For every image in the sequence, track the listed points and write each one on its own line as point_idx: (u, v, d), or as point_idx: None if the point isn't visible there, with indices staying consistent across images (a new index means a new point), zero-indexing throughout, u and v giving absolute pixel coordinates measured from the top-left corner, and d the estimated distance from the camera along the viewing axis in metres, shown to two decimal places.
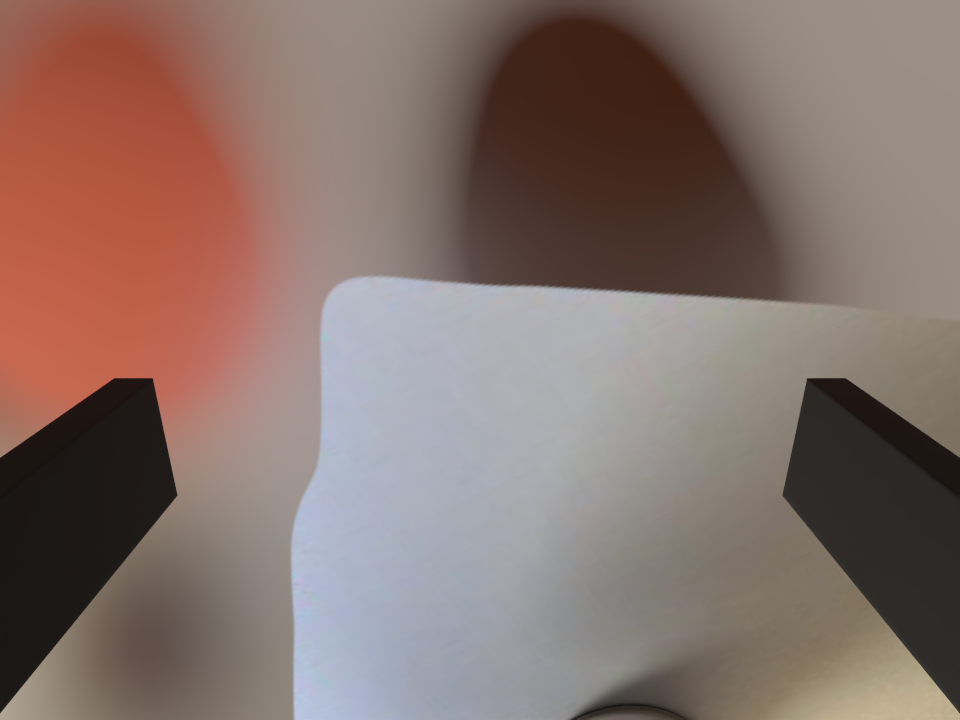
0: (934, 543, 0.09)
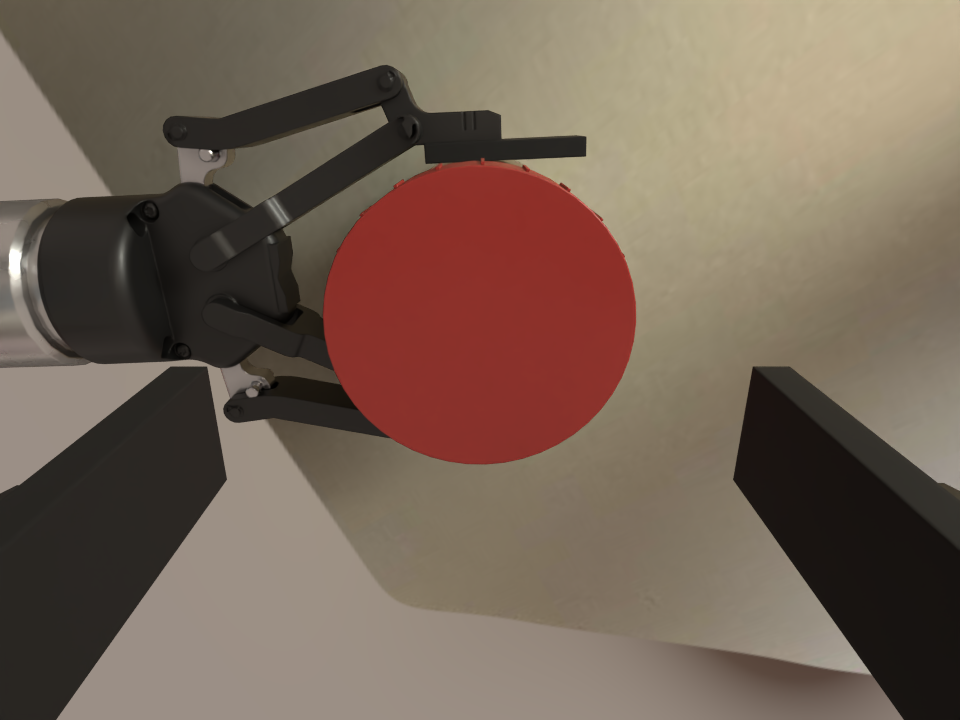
0: (852, 517, 0.09)
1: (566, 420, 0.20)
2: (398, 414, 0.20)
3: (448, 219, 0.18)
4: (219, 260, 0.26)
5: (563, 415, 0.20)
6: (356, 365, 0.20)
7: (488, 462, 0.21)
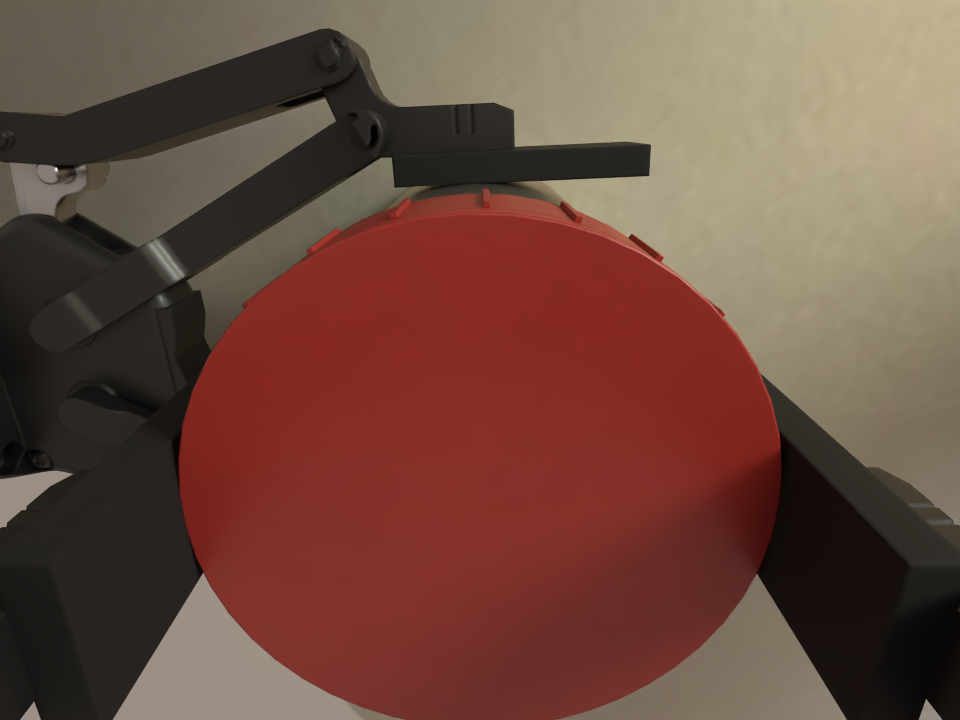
0: (787, 499, 0.10)
1: (637, 663, 0.11)
2: (332, 654, 0.11)
3: (416, 319, 0.09)
4: (76, 336, 0.16)
5: (632, 655, 0.11)
6: (248, 576, 0.10)
7: None
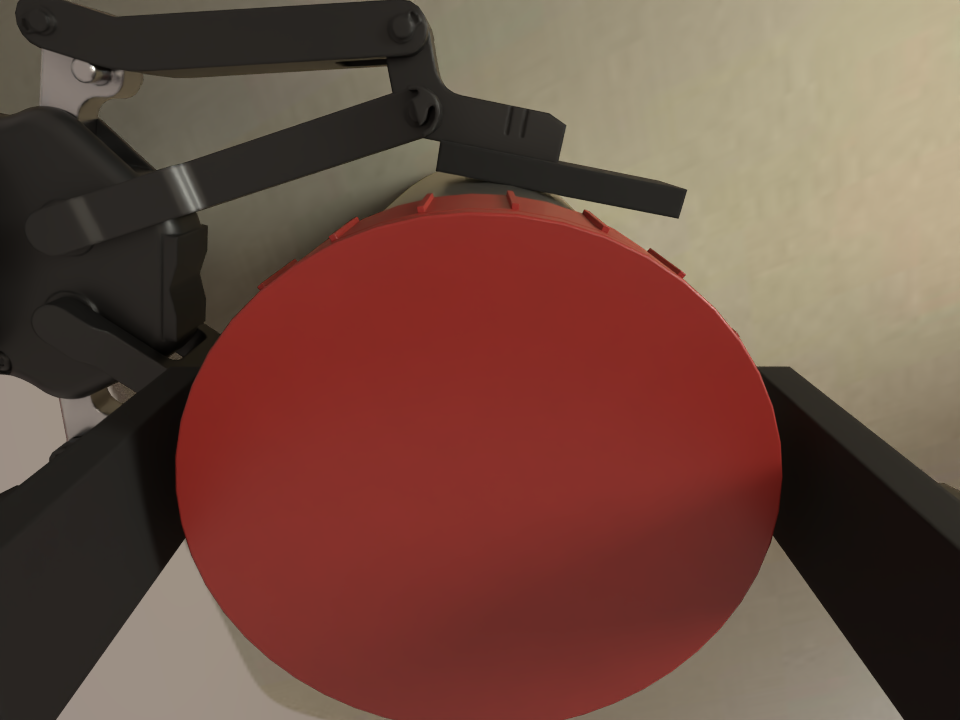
0: (852, 517, 0.09)
1: (700, 356, 0.09)
2: (641, 646, 0.11)
3: (277, 560, 0.10)
4: (73, 243, 0.16)
5: (687, 362, 0.09)
6: (540, 696, 0.11)
7: (775, 507, 0.10)
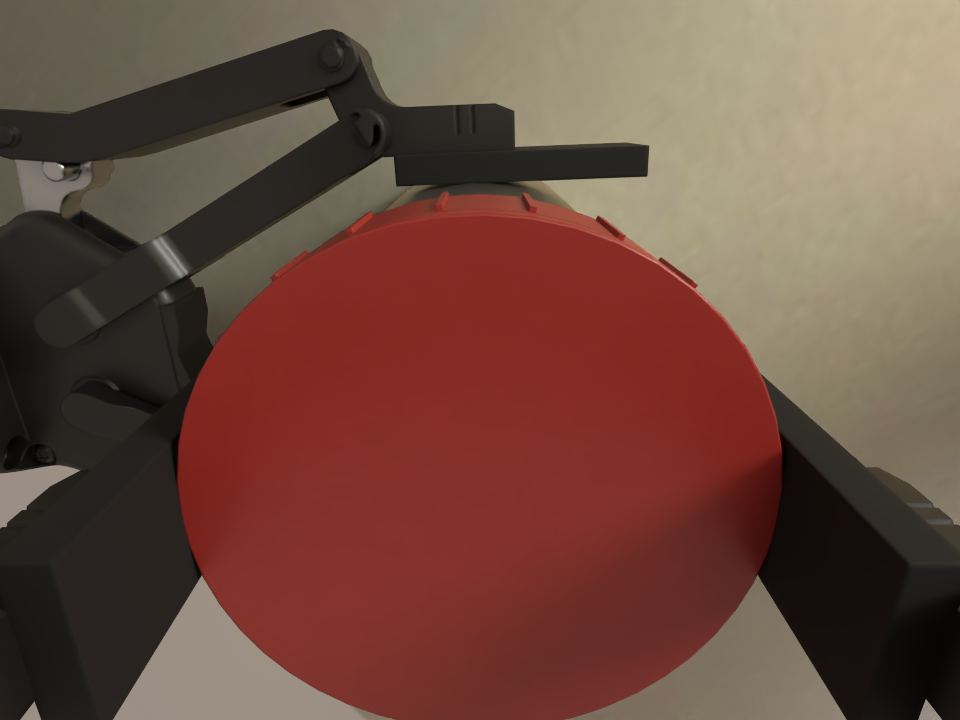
0: (787, 499, 0.10)
1: (657, 313, 0.09)
2: (676, 615, 0.11)
3: (299, 594, 0.11)
4: (80, 331, 0.17)
5: (645, 323, 0.09)
6: (587, 682, 0.11)
7: (777, 449, 0.10)
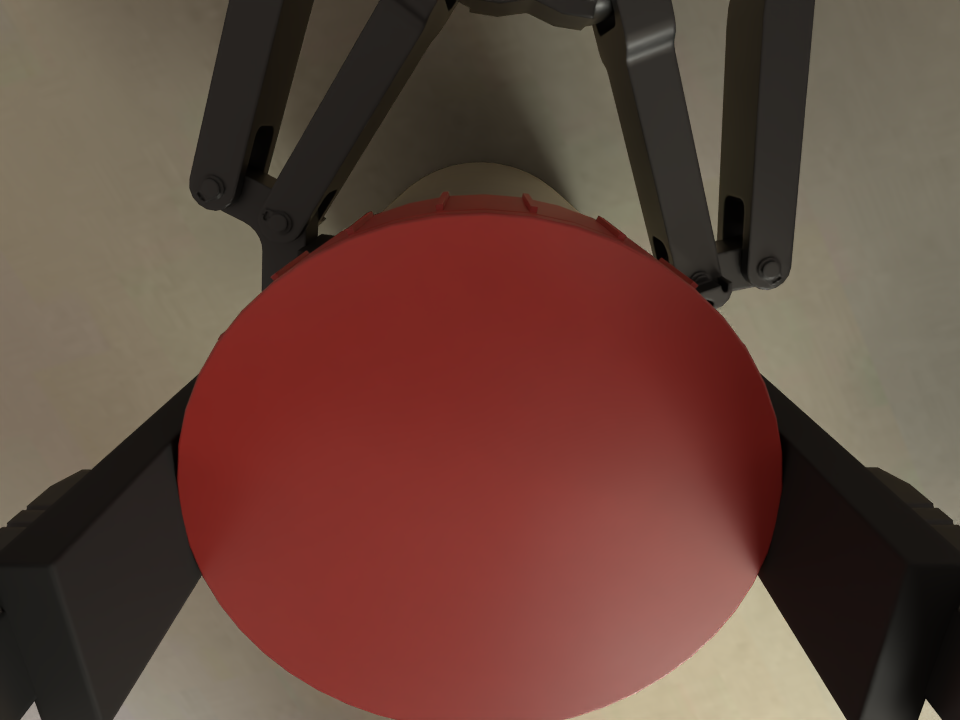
0: (787, 499, 0.10)
1: (658, 314, 0.09)
2: (676, 615, 0.11)
3: (299, 594, 0.11)
4: None
5: (646, 323, 0.09)
6: (587, 681, 0.11)
7: (777, 450, 0.10)
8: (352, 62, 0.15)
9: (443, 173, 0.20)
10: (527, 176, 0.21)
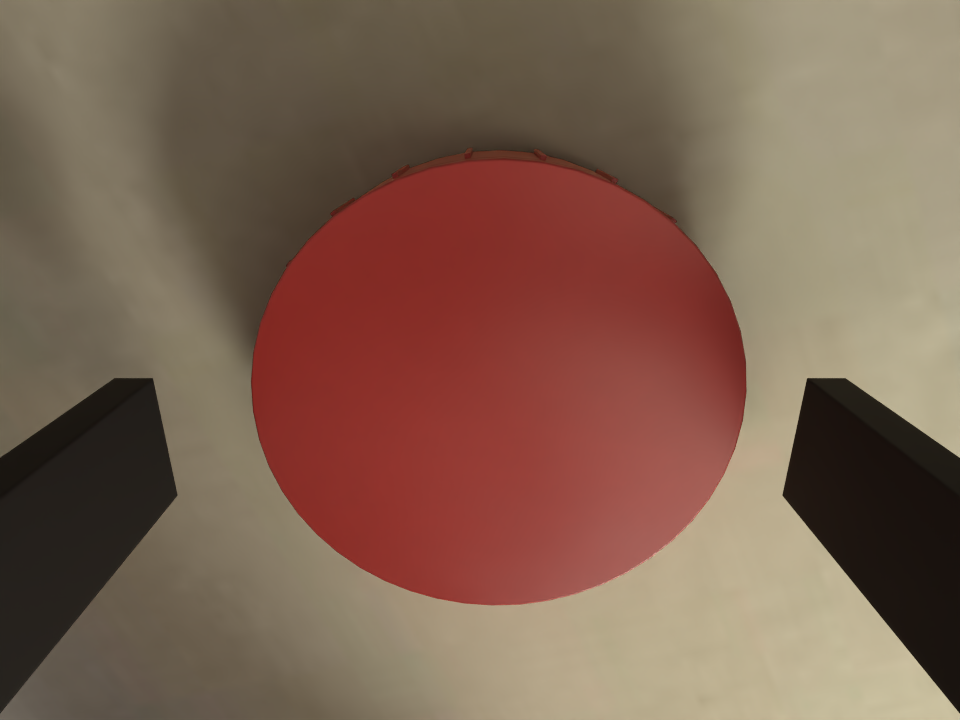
0: (934, 543, 0.09)
1: (643, 242, 0.11)
2: (659, 503, 0.13)
3: (347, 482, 0.13)
4: None
5: (633, 250, 0.11)
6: (585, 562, 0.14)
7: (741, 358, 0.12)
8: None
9: None
10: None
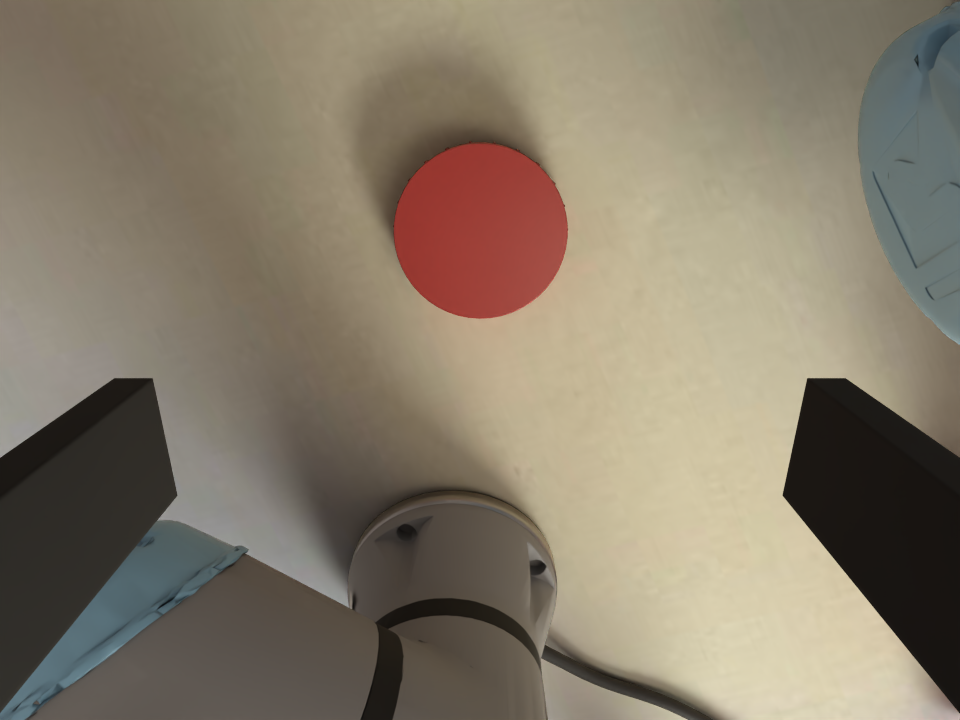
0: (934, 543, 0.09)
1: (527, 171, 0.33)
2: (540, 271, 0.35)
3: (426, 263, 0.35)
4: None
5: (524, 173, 0.33)
6: (514, 298, 0.36)
7: (564, 212, 0.34)
8: None
9: None
10: None
